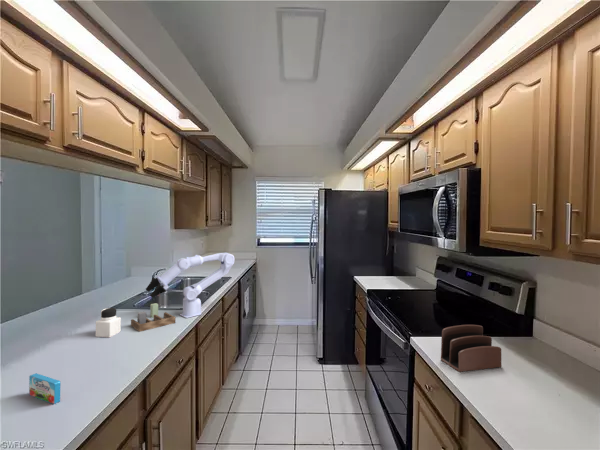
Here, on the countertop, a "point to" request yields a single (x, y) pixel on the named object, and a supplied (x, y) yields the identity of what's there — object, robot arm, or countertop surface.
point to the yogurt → (44, 388)
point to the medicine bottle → (108, 323)
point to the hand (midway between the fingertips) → (148, 293)
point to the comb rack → (153, 322)
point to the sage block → (153, 310)
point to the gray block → (141, 317)
